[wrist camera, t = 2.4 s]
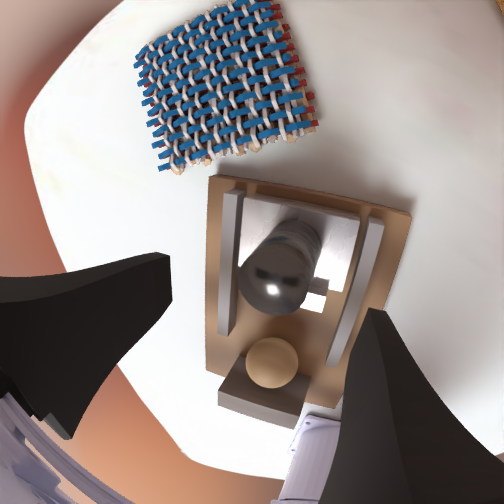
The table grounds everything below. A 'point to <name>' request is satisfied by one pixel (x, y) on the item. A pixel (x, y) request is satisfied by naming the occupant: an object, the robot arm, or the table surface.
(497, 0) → the potato
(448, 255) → the table surface
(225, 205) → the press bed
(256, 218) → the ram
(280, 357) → the walnut
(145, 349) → the table surface
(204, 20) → the woven mat
